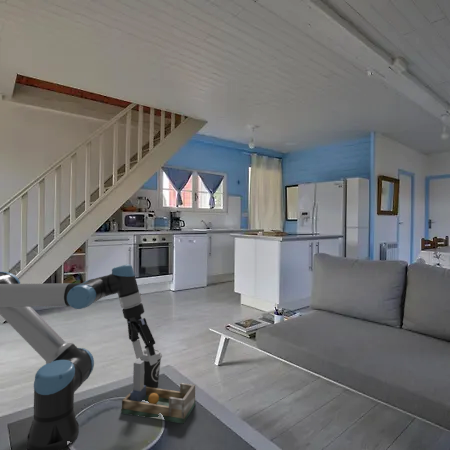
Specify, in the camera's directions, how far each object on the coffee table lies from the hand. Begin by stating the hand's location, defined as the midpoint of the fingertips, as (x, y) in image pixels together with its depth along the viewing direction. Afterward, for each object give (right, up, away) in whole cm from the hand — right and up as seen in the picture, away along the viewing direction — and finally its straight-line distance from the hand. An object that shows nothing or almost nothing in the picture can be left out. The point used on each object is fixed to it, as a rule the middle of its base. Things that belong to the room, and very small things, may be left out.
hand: (146, 360), depth 119 cm
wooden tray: (+4, -20, +4) cm, 21 cm away
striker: (-5, -19, +6) cm, 20 cm away
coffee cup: (-4, -21, +21) cm, 30 cm away
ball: (+1, -17, +5) cm, 18 cm away
